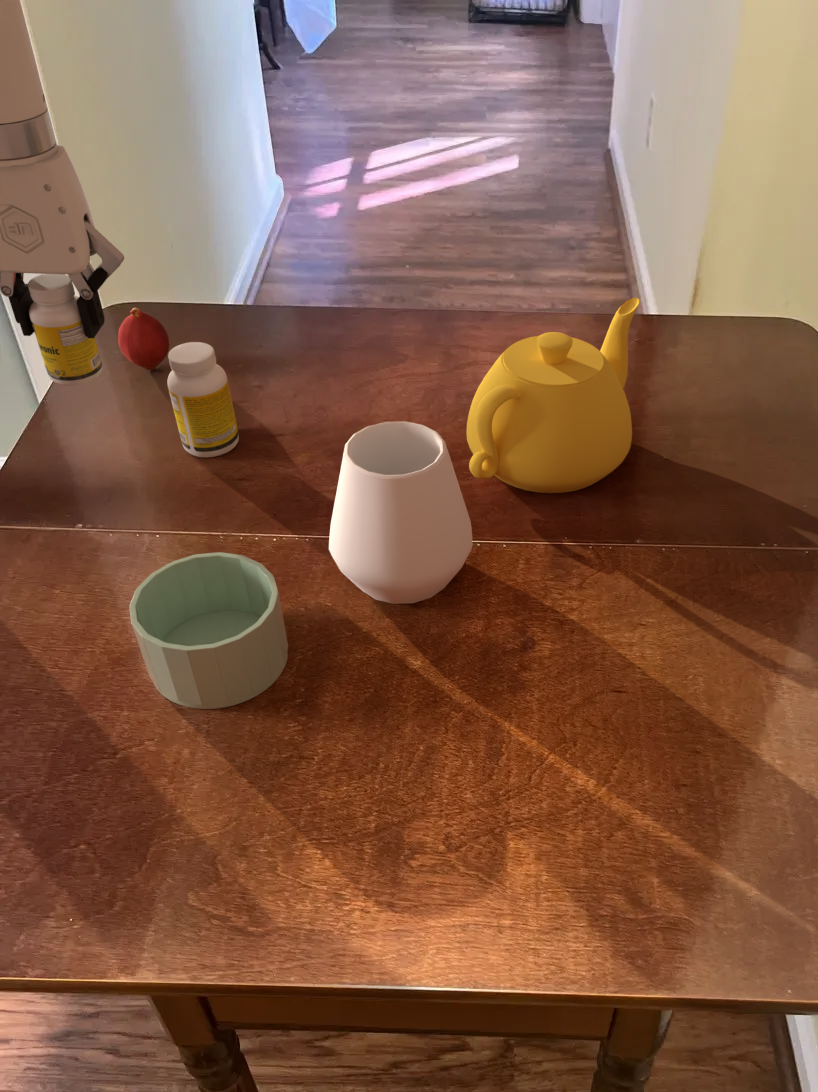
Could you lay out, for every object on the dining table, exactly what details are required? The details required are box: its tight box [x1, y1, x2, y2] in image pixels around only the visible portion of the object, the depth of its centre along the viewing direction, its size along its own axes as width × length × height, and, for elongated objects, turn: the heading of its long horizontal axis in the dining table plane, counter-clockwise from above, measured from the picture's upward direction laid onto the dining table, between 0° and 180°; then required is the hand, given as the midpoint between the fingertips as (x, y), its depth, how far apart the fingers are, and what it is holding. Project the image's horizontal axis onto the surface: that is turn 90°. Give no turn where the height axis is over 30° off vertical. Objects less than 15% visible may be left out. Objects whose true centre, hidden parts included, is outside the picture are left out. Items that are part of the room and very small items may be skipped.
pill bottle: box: [166, 341, 240, 459], centre depth 105 cm, size 6×6×11 cm
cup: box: [328, 420, 474, 605], centre depth 89 cm, size 13×13×14 cm
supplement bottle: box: [27, 274, 104, 387], centre depth 97 cm, size 5×5×10 cm
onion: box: [117, 307, 170, 371], centre depth 118 cm, size 6×6×8 cm
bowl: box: [128, 551, 289, 710], centre depth 83 cm, size 12×12×7 cm
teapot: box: [465, 297, 640, 494], centre depth 103 cm, size 25×18×14 cm
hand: (63, 329), depth 97 cm, fingers closed on supplement bottle, 5 cm apart
